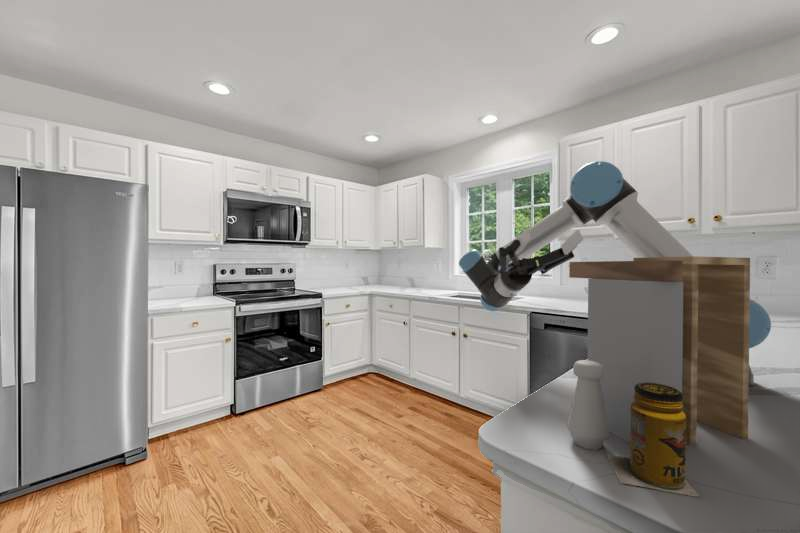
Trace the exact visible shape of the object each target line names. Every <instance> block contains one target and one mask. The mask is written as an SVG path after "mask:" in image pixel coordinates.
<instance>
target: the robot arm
mask: <svg viewBox="0 0 800 533" xmlns="http://www.w3.org/2000/svg"><path fill="white" fill-rule="evenodd" d="M569 190H570V191H569V192H570V195H569V196H568V197H566V198H565V199H563V202H562V204H561V206H560V207H558V208H557V209H555V210H553V211H551V213H549V214H548V215H546V216H545V217H544V218H542V219H540V220H539V221H538V222H536V223H535V224H533V225H532V226H531V227H529V228H525V229H523V231H521V234H519V235H518V236H516V237H515V238H513V239H511V241H509V242H508V243H506V244H505V245H503V246H500V247H499V248H498V250H496V251H495V252H493V253H492V254H490V255H489V256H488V257H484V256H483V254H482V253H480V251H479V250H477V249H470V250H469V251H468V252H466V253H465V254H464V255H463V256H461V258H460V259H459V261H458V266H459V267H460V268H461V269H462V271H463V273H464V274H465V275H466V276H467V278H468V279H469V281H471V282H472V283H473V285H475V287H476V288H477V289H478V291H479V292H480V294H481V295H480V303H481V305H482V307H483V308H484V309H486V310H487V311H489V312H497V311H501V310H502V308H504V307H505V306H506V305H508V303H509V302H511V300H512V299H513V298H514V297H515V296H516V295H517V294H518V293H519V292H520V291H521V290H522V289H524V288H525V287H526V286H527V285H528V284H529V283H531V282H530V281H531V280H532V276H533V275H534V274H535V273H537V272H540V273H541V275H545V274H546V273H548V272H549V271H550V270H552V269H554V268H556V267H558V266H559V265H562V264H564V263H566V262H567V261H570V260H571V259H573V258H575V254H574V252H573V250H575V249H576V248H577V247H578V245H579V244H581V243H582V241H584V237H583V235H582V234H581V231H580V230H579V229H577V230H575V231H574V232H573V233H572V234H571V235H570V236H569V237H568V238H567V239H566V240H564V242H563V243H562V244H561V245H560V248H558V249H554V250H553V251H550V252H547V253H545V254H543V255H540V256H539V255H536V256H534V257H532V258H531V256H532V255H533V254H535V253H536V252H538V251H539V250H542V249H544V247H546V246H547V245H549V244H550V243H551V244H552V242H554V241H555V240H556V239H558V238H559V237H562V236H563V235H564V234H566V233H567V232H569V231H570V230H572V229H574V228H576V226H584V225H586V224H587V223H590V221H592V220H593V221H594V222H595V223H596V224H599V225H605V226H607V227H608V228H609V229H610V231H611V230H612V232H613V233H614V234H615V235H616V236H617V237H618V238H619V239H620V241H621V242H623V244H625V245H626V246H627V248H628V249H629V250H630V251H631V252H632V253H633V254H634V255H635V256H636V258H652V257H690V256H693V255H692V254H691V252H689V250H687V249H686V247H684V246H683V244H682V243H680V242H679V241H678V240H677V239H676V237H674V236H673V235H672V234H671V233H670V232H669V231H668V230H667V229H666V228H665V227H664V226H663V225H662V224H661V223H660V222H659V221H658V220H657V218H656V219H655V217H654V216H653V215H652V214H650V213H649V211H648V210H647V209H646V208H644V207H643V205H642V204H640V203H639V202H638V196H639V195H638V194H639V192H638V191H637V190H636V189H635V188H634V187H633V186H632V185H631V184H630V183H629V181H627V180H626V179H625V178H624V176H623V173H622V172H621V170H620V169H619V167H617V166H615V165H614V164H612V163H611V162H608V161H602V160H599V161H593V162H590V163H586V164H585V165H583V166H582V167H580V168H579V169H578V170H577V171H576V172H575V173H574V175H573V177H572V179H571V182H570V187H569ZM529 257H530V258H529ZM537 263H538V264H537ZM771 328H772V321H771V318H770V315H769V313H768V312H767V310H766V309H765V308H764V307H763V306H762V304H760V303H759V302H756V301H755V300H753V299H751V298H750V315H749V349H752V348H755V347H756V346H759V345H760V344H762V343H763V342H765V340H766V339H767V338H768V336H769V335H770V332H771ZM754 377H755V376H754V373H753V372H752V369H751V366H750V364H749V387H752V386H754V385H755V382H754V381H755V380H754Z"/></svg>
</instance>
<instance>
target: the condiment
mask: <svg viewBox="0 0 800 533" xmlns="http://www.w3.org/2000/svg"><path fill="white" fill-rule="evenodd" d="M634 390H635V394H634V399H635V401H634V402H633V403H632V404H631V437H630V438H631V441H630V442H629V444H630V446H629V447H630V450H629V451H630V454H629V455H630V457H627V456H620V455H617V454H609V453H607V454H606V456H607V458H608V460H609V462H610V464H611V467H612V469H613V471H614V473H615V474H616V476H617V479H618V480H619V482H620V484H624V485H625V484H626V485H627V484H628V485H630V486H636V487H637V486H639V487H641V488H650V489H653V490H658V491H661V492H667V493H673V494H679V495H686V496H691V497H700V494H698V493H697V491H696V490H695V489H694V488H693V487H692V485H690V483H689V482H688V481H687V480H686V466H687V463H686V460H687V458H686V456H687V455H686V450H687V448H686V446H687V443H686V415H685V413H684V412H683V411H682V408H683V405H682V398H683V396H682V393H681V392H680V391H679V390H678V389H675V388H673V387H670V386H666V385H662V384H657V383H638V384H637V385H635V387H634Z"/></svg>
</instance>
